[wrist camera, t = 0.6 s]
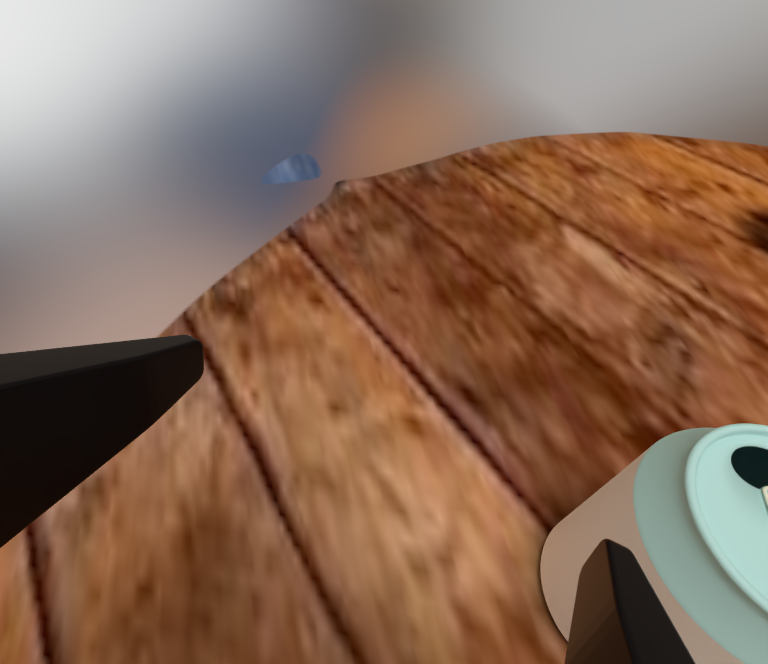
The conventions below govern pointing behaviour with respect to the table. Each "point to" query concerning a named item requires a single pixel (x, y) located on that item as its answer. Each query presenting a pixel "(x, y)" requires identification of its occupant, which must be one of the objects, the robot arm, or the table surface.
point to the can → (683, 539)
